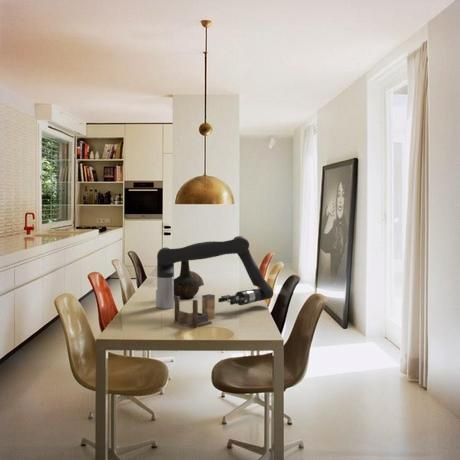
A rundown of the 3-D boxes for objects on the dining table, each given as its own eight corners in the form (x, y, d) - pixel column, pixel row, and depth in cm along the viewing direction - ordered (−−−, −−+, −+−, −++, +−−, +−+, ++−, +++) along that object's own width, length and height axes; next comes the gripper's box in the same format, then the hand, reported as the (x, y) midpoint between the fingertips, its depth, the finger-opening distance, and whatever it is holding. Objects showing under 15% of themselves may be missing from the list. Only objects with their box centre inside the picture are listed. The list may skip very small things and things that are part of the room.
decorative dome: (200, 282, 388) (200, 268, 387) (205, 287, 368) (205, 272, 368) (173, 283, 383) (173, 269, 383) (177, 288, 364) (177, 273, 363)
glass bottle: (190, 293, 344) (190, 249, 342) (204, 298, 329) (204, 252, 327) (165, 295, 335) (165, 251, 333) (178, 300, 320) (178, 253, 318)
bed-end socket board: (173, 322, 266) (173, 296, 265) (191, 318, 274) (191, 293, 273) (194, 328, 255) (194, 301, 254) (212, 323, 264) (212, 297, 263)
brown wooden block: (202, 318, 275) (202, 295, 274) (209, 317, 278) (209, 294, 278) (207, 320, 272) (207, 296, 271) (214, 318, 276) (214, 295, 275)
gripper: (235, 288, 300) (215, 292, 288) (255, 292, 290) (234, 296, 278) (235, 302, 300) (214, 306, 289) (254, 306, 291) (234, 310, 279)
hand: (224, 301), depth 283 cm, fingers open, 8 cm apart
